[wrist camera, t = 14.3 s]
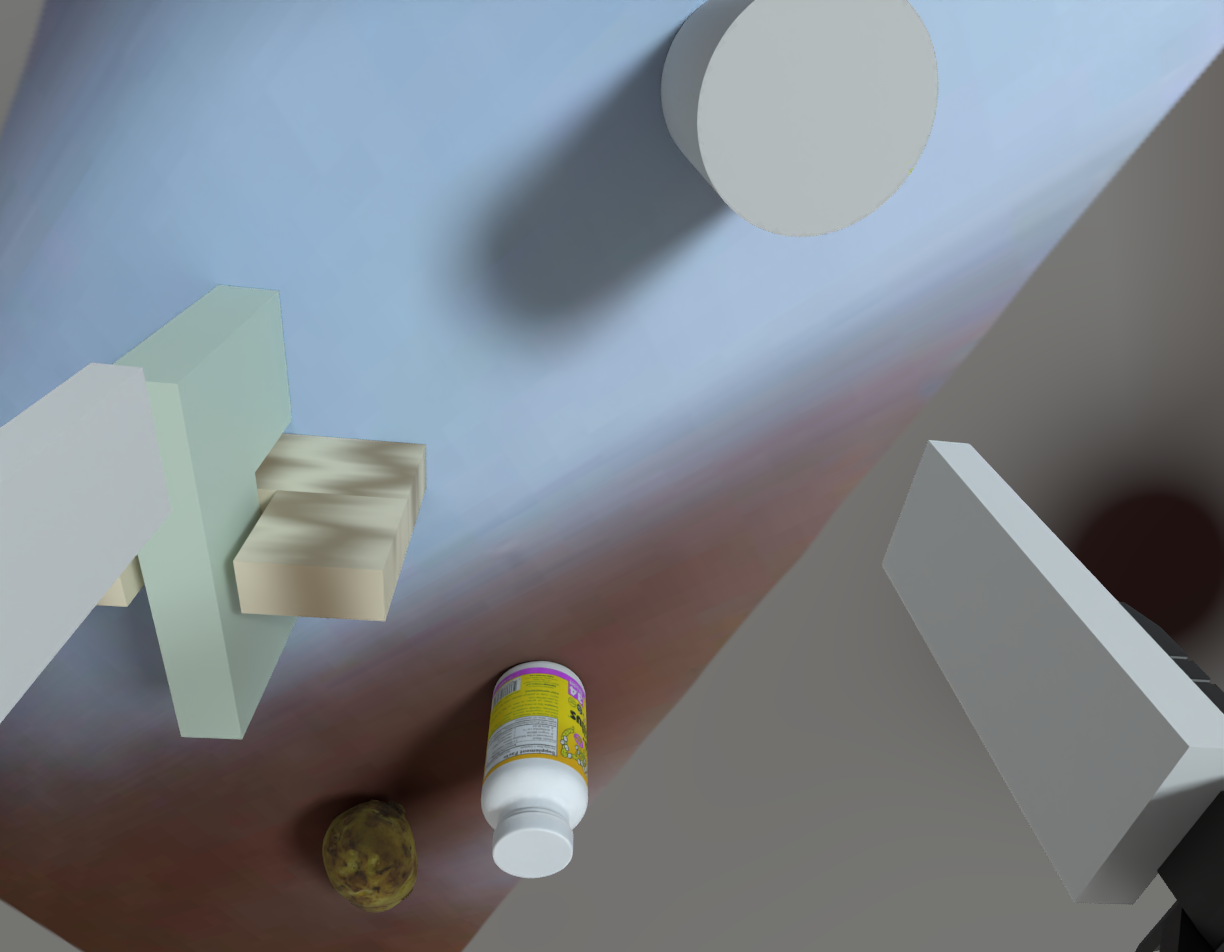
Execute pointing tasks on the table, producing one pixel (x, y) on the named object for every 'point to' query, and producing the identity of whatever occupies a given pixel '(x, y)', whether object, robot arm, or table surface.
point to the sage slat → (213, 500)
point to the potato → (371, 855)
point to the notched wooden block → (322, 529)
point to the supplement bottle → (535, 768)
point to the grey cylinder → (802, 106)
